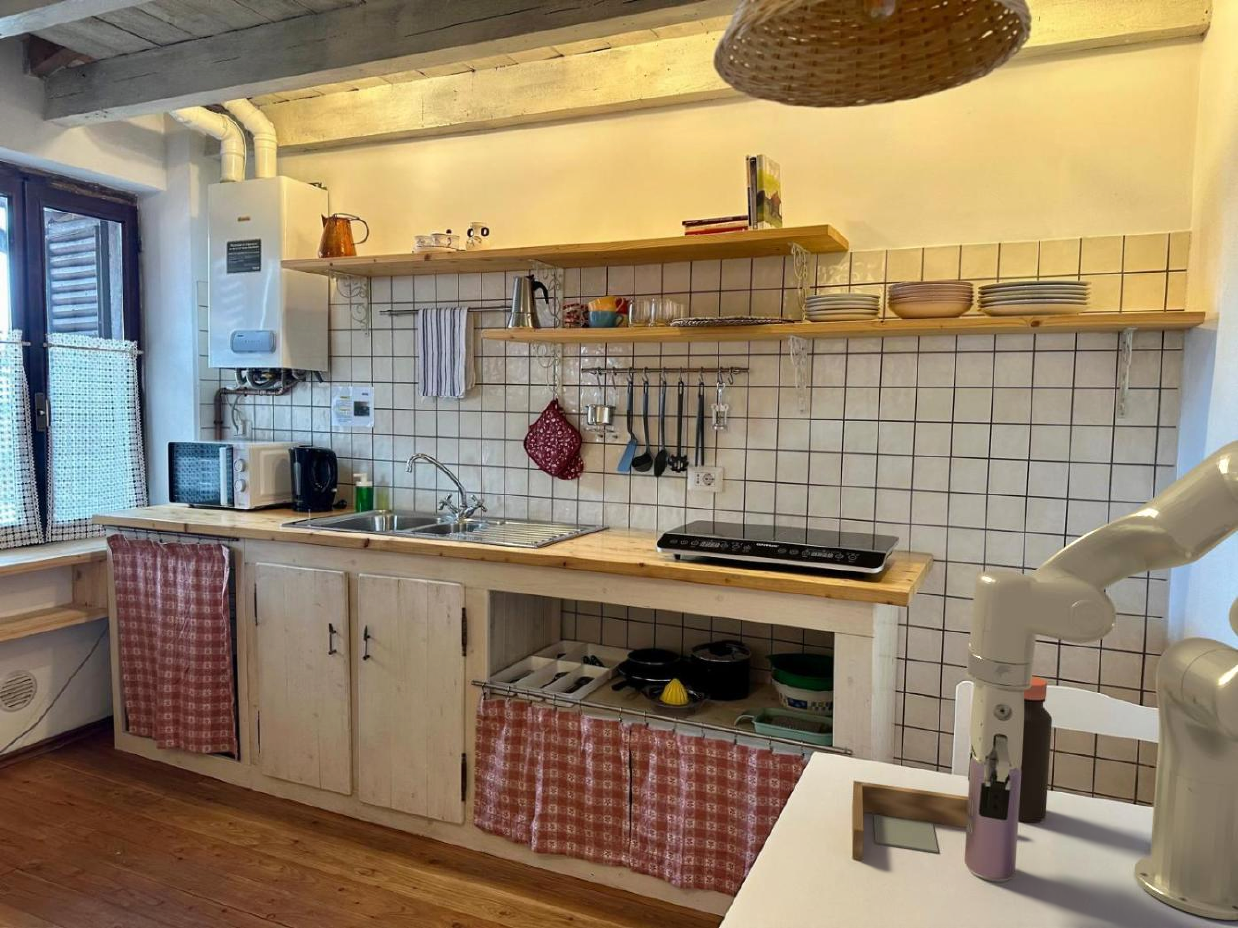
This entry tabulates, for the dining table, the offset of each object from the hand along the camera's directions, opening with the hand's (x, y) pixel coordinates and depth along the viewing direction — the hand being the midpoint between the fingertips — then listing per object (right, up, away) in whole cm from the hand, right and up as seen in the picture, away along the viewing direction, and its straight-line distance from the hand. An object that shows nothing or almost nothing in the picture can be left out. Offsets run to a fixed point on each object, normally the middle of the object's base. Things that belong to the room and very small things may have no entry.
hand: (986, 799), depth 108 cm
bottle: (+12, -9, +17) cm, 23 cm away
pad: (-7, -9, +9) cm, 15 cm away
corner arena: (-5, -9, +7) cm, 12 cm away
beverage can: (+1, -10, 0) cm, 10 cm away
